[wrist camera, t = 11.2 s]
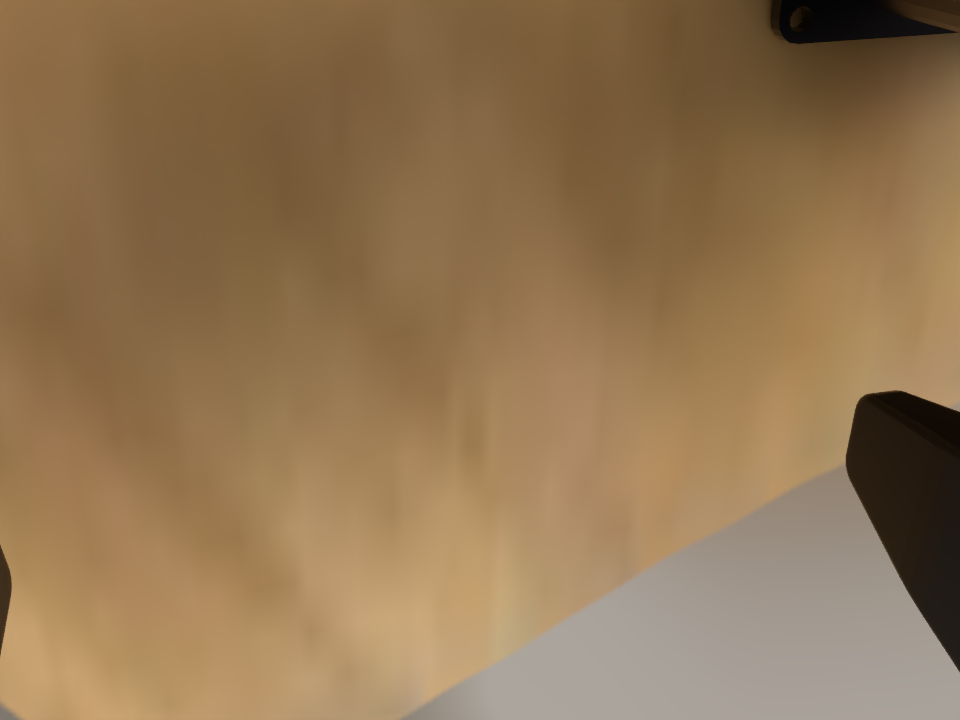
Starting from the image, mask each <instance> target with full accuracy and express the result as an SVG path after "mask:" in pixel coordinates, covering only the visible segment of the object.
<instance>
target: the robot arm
mask: <svg viewBox="0 0 960 720" xmlns="http://www.w3.org/2000/svg"><path fill="white" fill-rule="evenodd" d="M800 7H802V8H803V12H804V17H803V19H802V22H801V23H800V24H799V25H798V26H797V27H795V28H791V26H790V18H791V15H792V13H793V12H794V11H795V10H796V9H797V8H800ZM771 27H772V29H773V31H774V33H775V35H776V36H778V37H779V38H780V39H782V40H785V41H787V42H790V43H796V44H803V43H817V42H831V41H845V40H859V39H874V38H888V37H902V36H916V35H930V34H944V33H960V0H773V2H772V11H771ZM846 468H847V473H848V476H849V479H850V481H851V483H852V485H853V487H854V489H855V491H856V493H857V495H858V497H859V499H860V501H861V503H862V505H863V507H864V508H865V510H866V512H867V514H868V516H869V518H870V520H871V522H872V524H873V526H874V528H875V530H876V532H877V534H878V536H879V538H880V540H881V541H882V544H883V546H884V547H885V549H886V551H887V553H888V555H889V557H890V559H891V561H892V563H893V565H894V567H895V569H896V571H897V573H898V575H899V577H900V578H901V580H902V582H903V584H904V585H905V587H906V589H907V591H908V593H909V594H910V596H911V598H912V599H913V601H914V603H915V604H916V606H917V607H918V609H919V610H920V612H921V614H922V615H923V617H924V618H925V620H926V621H927V623H928V624H929V626H930V627H931V629H932V631H933V632H934V633H935V635H936V637H937V638H938V640H939V641H940V643H941V644H942V646H943V647H944V649H945V650H946V652H947V653H948V655H949V656H950V658H951V659H952V661H953V662H954V664H955V666H956V667H957V669H958V670H959V672H960V412H958V411H956V410H953V409H950V408H947V407H945V406H942V405H939V404H936V403H934V402H931V401H928V400H925V399H923V398H920V397H917V396H915V395H912V394H909V393H906V392H903V391H896V390H894V391H886V392H879V393H871V394H866V395H864V396H863V397H861V398H860V400H859V401H858V403H857V405H856V409H855V413H854V418H853V423H852V428H851V433H850V438H849V443H848V448H847V453H846ZM11 590H12V582H11V574H10V570H9V567H8V564H7V561H6V559H5V556H4V554H3V551H2V548H1V546H0V655H1V649H2V643H3V638H4V632H5V626H6V621H7V615H8V609H9V604H10V598H11Z"/></svg>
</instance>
